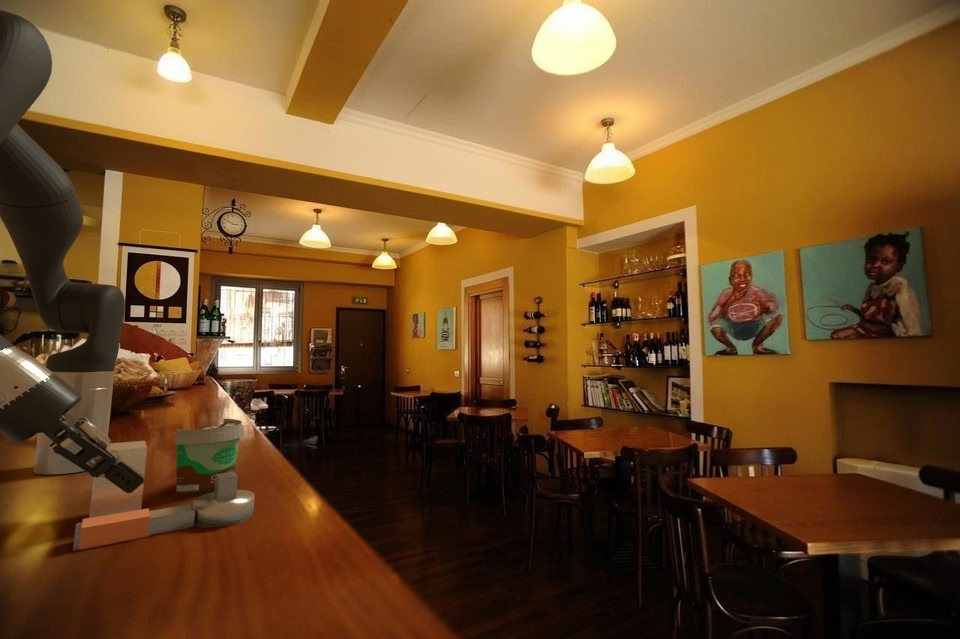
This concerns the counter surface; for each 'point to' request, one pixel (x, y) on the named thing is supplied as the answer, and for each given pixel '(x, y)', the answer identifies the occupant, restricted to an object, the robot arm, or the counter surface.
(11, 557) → the counter surface
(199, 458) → the food container
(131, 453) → the white upright block
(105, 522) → the ratchet
